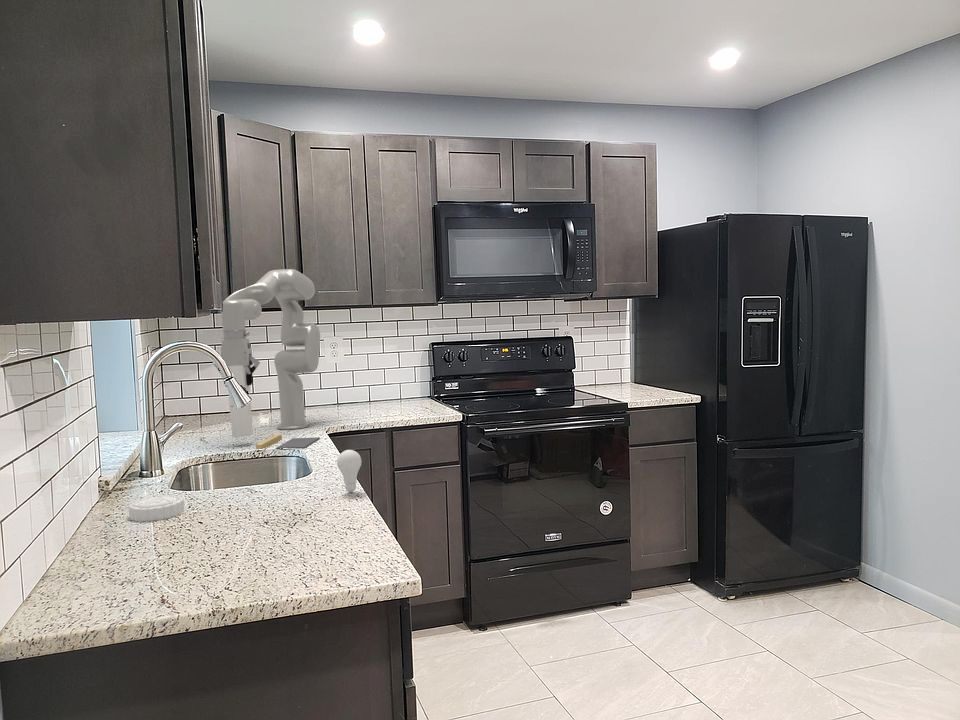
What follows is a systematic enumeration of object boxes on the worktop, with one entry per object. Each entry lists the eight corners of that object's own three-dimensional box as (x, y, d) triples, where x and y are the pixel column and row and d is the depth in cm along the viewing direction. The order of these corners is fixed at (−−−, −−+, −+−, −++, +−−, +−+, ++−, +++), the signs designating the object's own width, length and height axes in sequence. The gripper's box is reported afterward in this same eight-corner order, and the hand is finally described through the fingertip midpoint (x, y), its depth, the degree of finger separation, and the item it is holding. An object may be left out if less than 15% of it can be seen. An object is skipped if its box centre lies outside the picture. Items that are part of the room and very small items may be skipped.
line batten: (276, 439, 268) (276, 434, 268) (281, 439, 268) (281, 434, 268) (256, 450, 248) (255, 445, 248) (261, 450, 248) (261, 444, 248)
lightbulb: (335, 495, 183) (332, 452, 182) (343, 489, 189) (340, 447, 188) (359, 495, 182) (356, 452, 181) (366, 489, 188) (363, 447, 187)
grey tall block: (246, 436, 255) (241, 365, 253) (228, 436, 257) (222, 366, 254) (256, 432, 262) (251, 363, 260) (238, 432, 264) (233, 364, 261)
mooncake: (121, 516, 173) (120, 501, 173) (171, 505, 182) (170, 491, 181) (141, 525, 165) (140, 510, 164) (193, 513, 173) (192, 498, 173)
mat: (293, 439, 267) (292, 438, 267) (319, 439, 266) (319, 437, 266) (275, 449, 249) (275, 447, 249) (304, 448, 248) (304, 447, 248)
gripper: (262, 333, 259) (266, 383, 261) (215, 335, 261) (219, 385, 262) (254, 335, 252) (258, 386, 254) (206, 337, 253) (210, 387, 255)
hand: (238, 385), depth 258 cm, fingers closed on grey tall block, 7 cm apart
